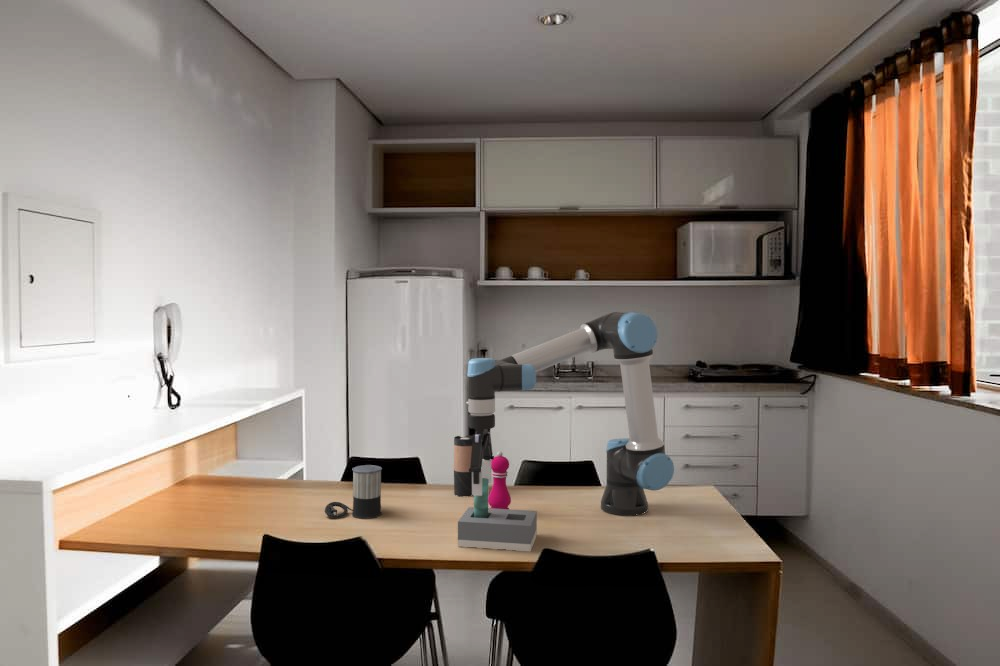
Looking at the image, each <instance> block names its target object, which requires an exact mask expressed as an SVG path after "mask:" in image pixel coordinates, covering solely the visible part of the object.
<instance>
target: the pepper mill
mask: <svg viewBox="0 0 1000 666" xmlns="http://www.w3.org/2000/svg"><path fill="white" fill-rule="evenodd" d="M503 455H504V453H503V452H502V451H500V450H499V451H498V452H497V453H496V456H494V460H491V478H492V479H493V482H492V483H493V484H492V488H491V490H490V492H489V493H488V506H490V508H494V509H510V508H509V506H510V504H511V503H512V498H511V495H510V492H509V490H508V487H507V478H508V473H509V472H508V469H509V468H510V461H509V459H508V458H507V457H505V456H503Z"/></svg>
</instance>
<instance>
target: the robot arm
mask: <svg viewBox="0 0 1000 666" xmlns="http://www.w3.org/2000/svg"><path fill="white" fill-rule="evenodd" d="M658 333H659V332H658V329H657V325H656V323H655V322H654V320H653V319H652V318H651V317H650V316H649V315H647V314H645V313H642V312H641V313H640V312H639V311H638V312H637V311H624V312H623V311H621V312H620V311H615V312H614V311H613V312H609V313H605V314H603V315H601V316H599V317H596V318H595V319H592V320H590V321H587V322H585V323H583V324H581V325H580V328H579V329H576V330H573V331H571V332H568V333H565V334H562V335H560V336H558V337H556V338H552V339H550V340H547V341H545V342H542V343H541V344H538V345H535V346H532V347H529V348H527V349H524V350H522V351H520V352H517V353H514V354H512V355H510V356H507V357H505V358H501V359H493V358H491V357H477V358H471V359H469V361H468V365H467V374H466V375H467V394H468V395H467V397H468V400H467V401H466V402H465V404H466V405H468V406H467V407H468V408H467V409H468V410H467V411H468V413H469V414H468V415H467V427H468V428H469V429H473V430H475V433H474V434H472V435H471V436H472V453H471V464H470V469H469V472H472V495H473V496H474V495H476V496H482V478H486V479H488V484H491V483H492V469H491V460H494V457H495V456H494V455H493V446H492V437H491V429H493V428H495V427H496V415H495V412H496V392H497V393H499V392H517V391H519V392H520V391H521V392H525V391H529V390H530V391H531V390H533V389H534V388H535V386H536V383H537V373H538V372H540V371H542V370H546V369H547V368H550V367H552V366H555V365H557V364H559V363H562V362H565V361H568V360H570V359H572V358H575V357H577V356H580V355H582V354H585V353H588V352H590V353H593V354H594V353H596V352H599V351H602V350H613V359H614V360H615V361H616V362H618V363H619V364H620V365H619V366H620V372H621V373H620V374H621V380H622V381H621V382H622V389H623V396H624V397H623V398H624V403H625V412H626V419H627V429H628V435H629V438H628V437H627V438H624V437H623V438H612V439H609V440H608V442H607V445H606V451H605V452H606V485H605V488H604V492H603V494H602V497H601V498H600V499H601V500H600V509H601V510H602V511H603V512H605V513H607V512H608V514H611V513H612V514H611V515H616V514H618V515H617V516H625V515H632V516H637V515H636V514H641V515H643V514H642V513H644V512H646V511H647V510H648V511H649V504H648V503H649V502H648V499H647V496H646V493H645V490H649V491H659V490H662V489H664V488H665V487H667V486H668V484H669V483H670V481H672V479H673V477H674V473H675V465H674V462H673V460H672V458H671V457H670V456H669V455H668V454H666V447H665V442H664V441H663V440H662V439H661V438H659V434H658V426H657V425H658V424H657V417H656V408H655V401H654V393H653V392H654V391H653V384H652V377H651V376H652V375H651V369H650V360H651V358H652V357H653V356H654V352H653V350H654V349H653V348H654V347H655V345H656V343H657V341H658V336H659V335H658ZM475 466H476V467H475ZM644 489H645V490H644ZM648 511H647V512H648ZM647 512H646V513H647ZM644 514H645V513H644Z"/></svg>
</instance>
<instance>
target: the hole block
mask: <svg viewBox="0 0 1000 666" xmlns="http://www.w3.org/2000/svg"><path fill="white" fill-rule="evenodd" d="M537 518H538V511H537V510H530V509H529V510H526V509H525V510H524V509H512V508H511V509H510V508H509V509H494V508H491V507H488V518H474V506H473V507H472V506H469V507H468V508H467V509H466V510H465V511H464V513H463V514H462V515H461V517H460V518H459V519H458V521H457V547H458V546H463V547H462V548H467V547H477V548H476V549H482V548H492V549H491V550H497V549H506V550H505V551H512V550H516V552H527V553H528V552H530V553H531V552H532V549H533V546H534V543H535V540H536V538H537V536H538V535H537V529H538V528H537V527H538V525H537V524H538V522H537V521H538V519H537Z"/></svg>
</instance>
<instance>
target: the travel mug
mask: <svg viewBox="0 0 1000 666" xmlns="http://www.w3.org/2000/svg"><path fill="white" fill-rule="evenodd" d="M472 436H473V435H466V436H460V435H456V436H454V437H453V438H454V439H453V492H454V495H455V496H456V495H458V496H457V497H460V496H468V497H472V496H471V495H472V472H469V469H470V464H471V453H472ZM475 467H477V466H475Z"/></svg>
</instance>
